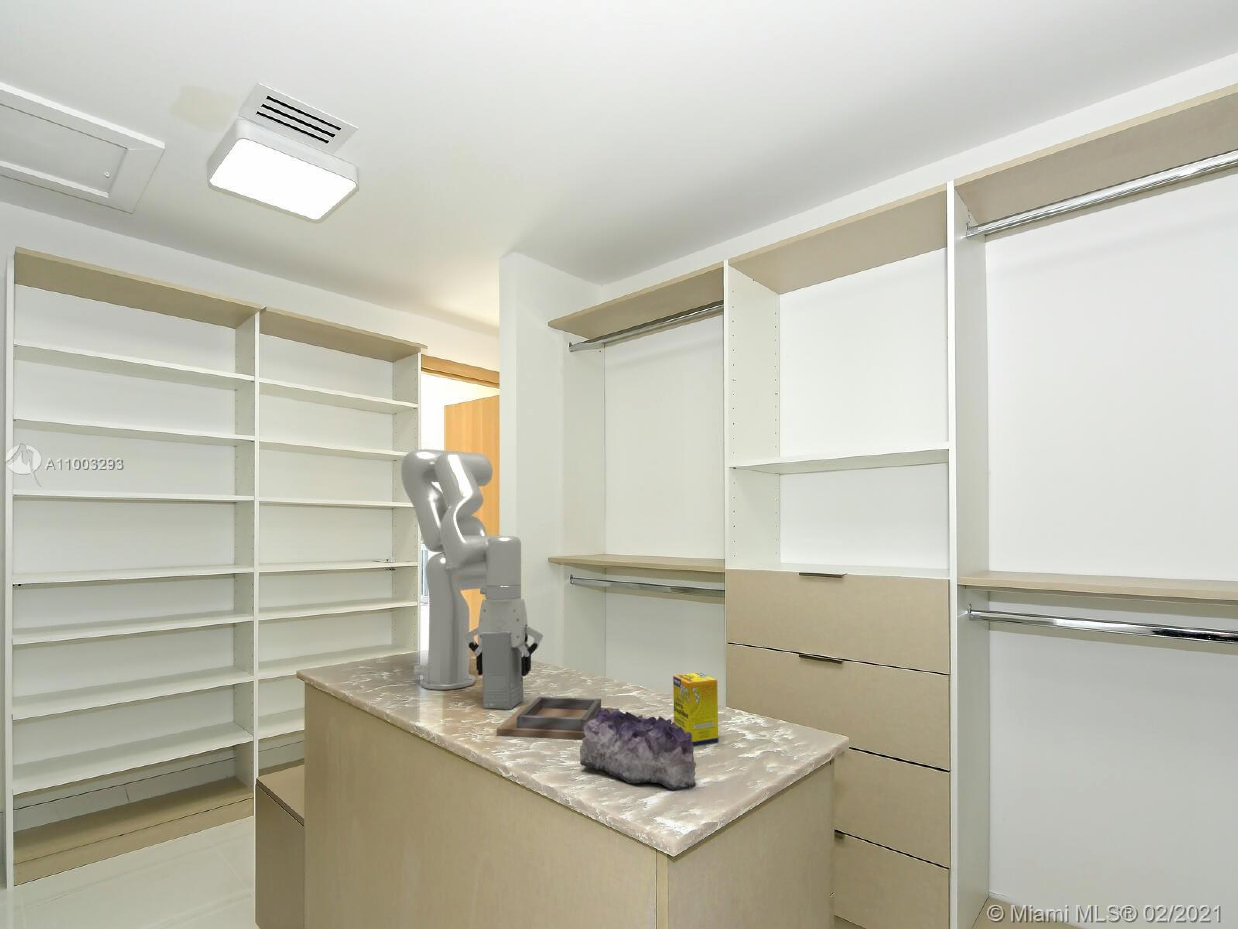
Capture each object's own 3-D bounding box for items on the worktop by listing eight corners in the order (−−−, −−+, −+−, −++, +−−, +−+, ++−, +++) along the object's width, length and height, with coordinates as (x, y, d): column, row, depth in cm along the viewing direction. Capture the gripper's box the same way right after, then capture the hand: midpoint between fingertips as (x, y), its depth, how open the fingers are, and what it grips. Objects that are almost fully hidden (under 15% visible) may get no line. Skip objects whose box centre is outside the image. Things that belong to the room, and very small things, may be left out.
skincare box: (511, 710, 135) (511, 632, 136) (478, 709, 136) (479, 631, 138) (525, 699, 143) (525, 626, 145) (494, 698, 145) (495, 625, 146)
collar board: (496, 735, 119) (496, 717, 120) (523, 710, 135) (523, 694, 135) (604, 741, 116) (604, 722, 116) (619, 714, 132) (619, 698, 132)
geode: (716, 774, 101) (713, 710, 101) (678, 811, 92) (674, 741, 91) (610, 743, 113) (607, 686, 113) (567, 773, 104) (564, 711, 103)
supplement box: (672, 737, 118) (672, 675, 119) (701, 732, 120) (700, 672, 121) (689, 747, 112) (688, 682, 113) (719, 742, 115) (717, 679, 116)
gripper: (459, 595, 140) (458, 677, 138) (537, 595, 137) (537, 679, 135) (472, 591, 147) (472, 669, 145) (547, 591, 144) (547, 671, 142)
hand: (503, 674), depth 140 cm, fingers open, 9 cm apart
